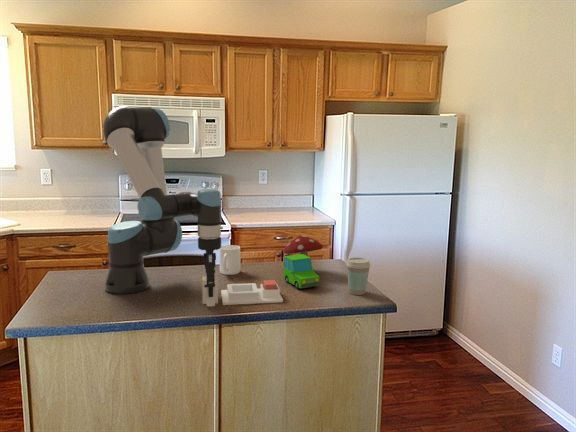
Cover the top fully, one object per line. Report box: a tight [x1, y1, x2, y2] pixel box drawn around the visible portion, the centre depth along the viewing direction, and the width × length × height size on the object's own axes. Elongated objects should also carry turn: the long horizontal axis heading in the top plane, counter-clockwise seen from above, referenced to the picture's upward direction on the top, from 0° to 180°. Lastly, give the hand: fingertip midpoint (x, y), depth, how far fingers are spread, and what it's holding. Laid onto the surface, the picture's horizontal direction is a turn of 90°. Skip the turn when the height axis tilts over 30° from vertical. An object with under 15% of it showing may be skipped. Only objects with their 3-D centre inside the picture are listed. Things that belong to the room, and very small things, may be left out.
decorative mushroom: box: [283, 234, 324, 257], centre depth 199 cm, size 16×16×15 cm
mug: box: [219, 244, 241, 276], centre depth 195 cm, size 12×8×10 cm
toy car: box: [283, 253, 320, 290], centre depth 183 cm, size 10×13×10 cm
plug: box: [201, 275, 219, 305], centre depth 164 cm, size 5×5×10 cm
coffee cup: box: [345, 257, 371, 296], centre depth 175 cm, size 9×9×12 cm
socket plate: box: [220, 282, 284, 306], centre depth 169 cm, size 20×13×3 cm, turn 100°
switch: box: [262, 279, 278, 290], centre depth 170 cm, size 4×5×2 cm
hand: (210, 298), depth 165 cm, fingers open, 13 cm apart
